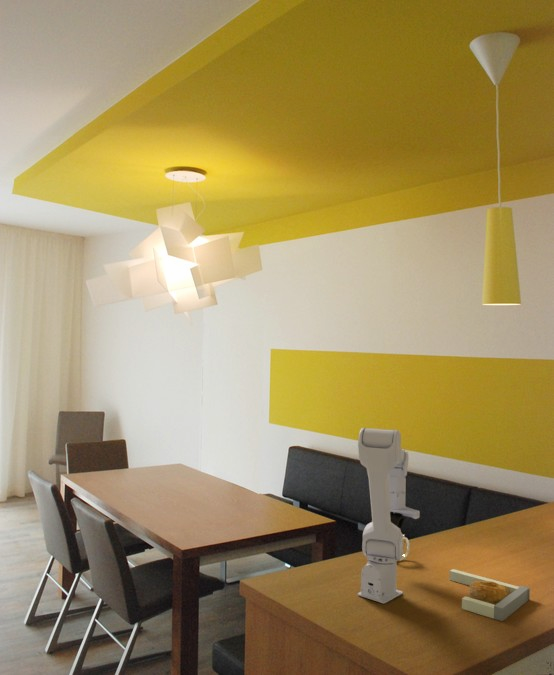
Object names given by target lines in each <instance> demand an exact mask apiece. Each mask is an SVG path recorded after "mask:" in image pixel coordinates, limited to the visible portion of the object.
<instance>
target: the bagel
mask: <svg viewBox="0 0 554 675" xmlns="http://www.w3.org/2000/svg"><path fill="white" fill-rule="evenodd" d="M468 593H469V595H470V598H473V599H477V600H480V601H483V602H487V603H490V604H494V605H496V604H497V603H499V602H500V601H501V600H503V599H504V598H505V597H507V596H508V595H510V594H511V593H510V591H509V590H508V589H507V588H506V587H504V586H502V585H499V584H498V583H495V582H491V581H485V582H482V581H476V582H474V583H472V584H471V586H469V588H468Z"/></svg>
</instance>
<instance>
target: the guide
mask: <svg viewBox="0 0 554 675" xmlns="http://www.w3.org/2000/svg"><path fill="white" fill-rule="evenodd" d="M448 575H449V578H448V580H449V581H452V582H456V583H459V584H463V585H466V586H469V587H470V586H471V584H472V583H474V582H476V581H482V582H485V581H491V582H495V583H498V584H499V585H502V586H504V587H506V588H507V589H508V590H509V591H510V593H511V594H510V595H508V596H507V597H505V598H504V599H503V600H501V601H500V602H499V603H497V604H496V605H494V604H490V603H487V602H483V601H480V600H477V599H474V598H472V597H471V596H470V597H469V596H466V595H465V596H464V597H462V598H461V609H462V610H465V611H467V612H471V613H474V614H477V615H480V616H484V617H487V618H491V619H493V620H497V621H500V622H503V621H504V620H506V619H507V618H509V617H510V616H511V615H513V613H515V612H516V611H517V610H518V609H520V608H521V607H522V606H523V605H525V604H526V603H527V602H528V601H530V596H531V595H530V590H531V589H530V587H529V586H525V585H520V586H518V585H513V584H510V583H506V582H502V581H499V580H495V579H492V578H488V577H484V576H480V575H477V574H473V573H469V572H466V571H463V570H458V569H455V568H454V569H453V568H451V569H450V570H449V574H448Z"/></svg>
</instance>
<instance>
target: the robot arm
mask: <svg viewBox="0 0 554 675" xmlns="http://www.w3.org/2000/svg"><path fill="white" fill-rule="evenodd" d="M357 445H358V446H357V447H358V449H357V450H358V458H359V462H360V464H361V465H362V466H363V467H364V468H366V473H367V477H368V489H369V498H370V510H371V522H369V523H367V524H366V525H365V527H364V529H363V532H362V545H361V549H362V553H363V554H364V556H365V557H366V560H367V563H366V564H365V565H364V566H363V567H362V568H361V572H360V592H358V593H357V596H359V597H362V598H364V599H369V600H372V601H374V602H378V603H380V604H387V603H388V602H390V601H392V600H394V599H396V598H397V597H399V596H401V595H403V593H404V591H403V590H400V589H399V590H398V589H397V574H398V573H397V572H398V571H397V570H398V569H397V567H398V566H397V562H398V560H400V559H401V558H402V556H403V555H404V541H403V537H402V534H403V533H402V531H401V530H402V526H403V525H404V523H405V521H406V519H407V518H412V519H414V520H417V519H419V518H420V510H417V509H413V508H412V507H408V506H406V489H407V488H406V487H407V486H406V484H407V483H406V481H407V479H406V478H407V477H406V476H408V466H409V452H408V451H406V450H405V449H403V448H402V437H401V432H400V431H399V430H398V429H394V430H393V429H380V428H366V427H362V428H361V429H360V430H359V433H358V441H357Z"/></svg>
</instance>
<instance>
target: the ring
mask: <svg viewBox="0 0 554 675" xmlns="http://www.w3.org/2000/svg"><path fill="white" fill-rule="evenodd" d="M405 535H406V534H405V533H404V534H403V533H402V537H403V544H404V545H405V549H404V552H403V555H402V558H401V559H400V560H397V562H398V561H399V562H402V560H405V559H406V558H407V556H408V555H409V552H410V548H411V547H410V541H409V539H408V537H406V536H405Z"/></svg>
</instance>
